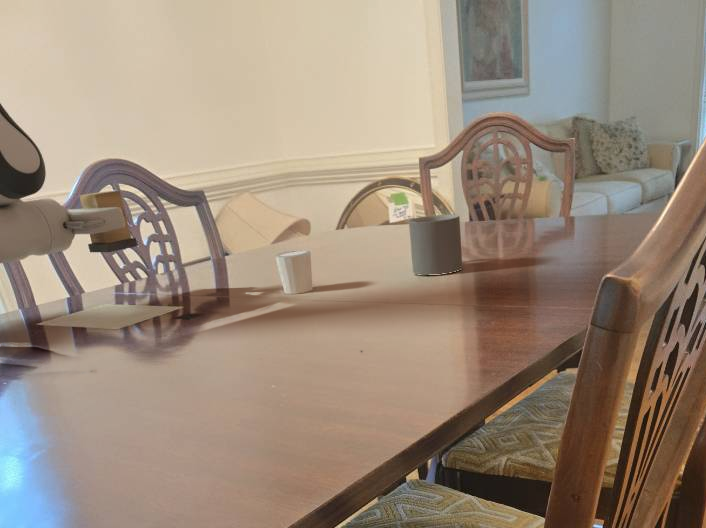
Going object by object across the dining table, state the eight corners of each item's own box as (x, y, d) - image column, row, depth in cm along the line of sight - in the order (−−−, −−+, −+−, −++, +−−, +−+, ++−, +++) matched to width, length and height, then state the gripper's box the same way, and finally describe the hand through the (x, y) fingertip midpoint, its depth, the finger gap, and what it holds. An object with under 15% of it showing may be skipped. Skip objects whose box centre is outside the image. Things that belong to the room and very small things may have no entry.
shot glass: (274, 294, 149) (268, 257, 146) (291, 287, 155) (286, 250, 151) (305, 294, 147) (299, 256, 143) (321, 286, 152) (316, 249, 149)
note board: (37, 329, 141) (35, 324, 141) (105, 309, 153) (104, 304, 153) (119, 334, 131) (117, 328, 130) (185, 312, 143) (184, 306, 142)
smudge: (173, 324, 134) (171, 318, 134) (189, 318, 137) (188, 313, 137) (189, 325, 132) (188, 319, 132) (205, 319, 135) (204, 313, 135)
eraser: (89, 252, 148) (74, 195, 143) (118, 246, 153) (104, 191, 148) (109, 252, 145) (94, 194, 140) (137, 246, 150) (124, 190, 145)
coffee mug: (461, 273, 150) (458, 218, 146) (411, 277, 151) (406, 223, 147) (463, 262, 162) (460, 210, 157) (416, 266, 163) (412, 215, 158)
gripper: (81, 205, 130) (142, 194, 140) (7, 208, 140) (69, 199, 150) (91, 244, 133) (151, 231, 143) (18, 245, 143) (79, 233, 153)
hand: (108, 215), depth 147 cm, fingers closed on eraser, 4 cm apart
